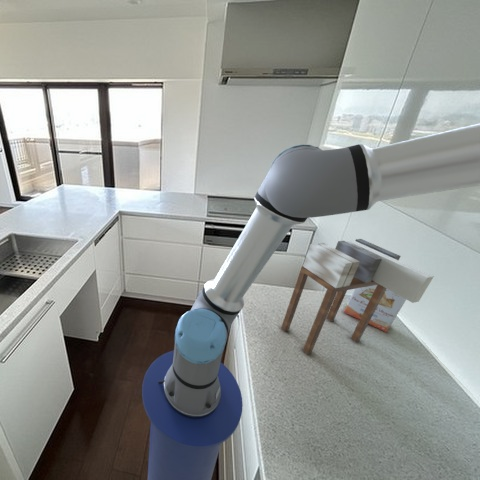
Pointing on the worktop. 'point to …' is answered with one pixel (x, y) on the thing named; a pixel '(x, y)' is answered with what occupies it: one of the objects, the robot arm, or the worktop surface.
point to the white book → (398, 275)
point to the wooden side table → (338, 283)
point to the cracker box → (384, 310)
